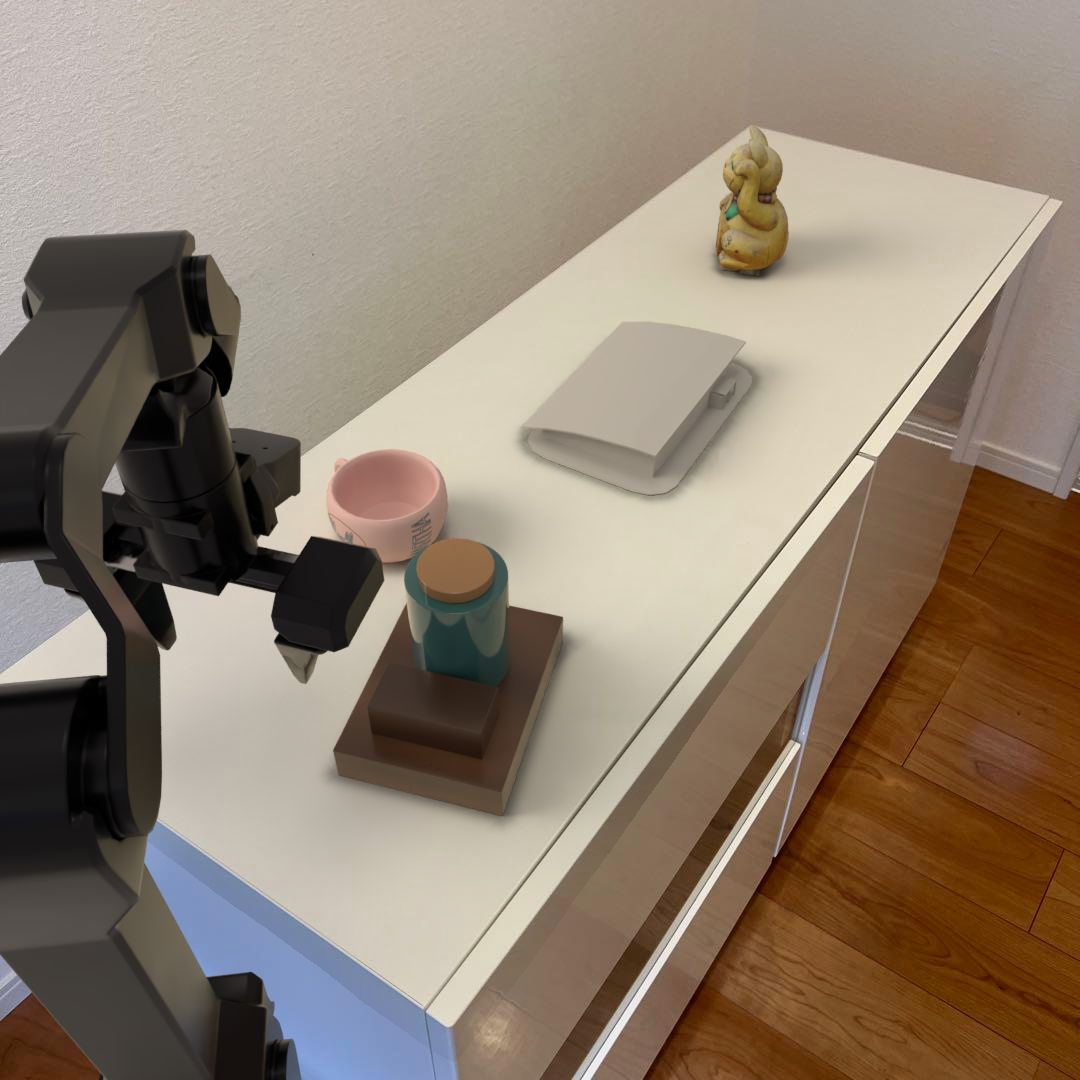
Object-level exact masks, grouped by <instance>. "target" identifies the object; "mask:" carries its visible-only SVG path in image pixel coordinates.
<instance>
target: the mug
mask: <svg viewBox="0 0 1080 1080" xmlns="http://www.w3.org/2000/svg"><path fill="white" fill-rule="evenodd" d="M333 469H334V470H333V471H334V473H333V474H332V476H331V478H330V480H329V482H328V485H327V487H326V494H325V495H326V496H325V501H326V512H327V516H328V520H329V523H330V526H331V527H332V530H333V532H334V534H335V535H336V536H337V537H338V539H339V541H342V542H347V543H352V544H356V545H361V546H366V547H370V548H375V549H376V550H377V552H378V554H379V556H380V558H381V560H382V563H384V564H385V563H397V562H403V561H406V560H410V559H412V558H413V557H414V556H415V555H416V554H417V553H418V552H420V551H421V550H423V549H424V548H426V547H428V546H430V545H432V544H434V543H435V540H436V539H437V538H438V536H439V534H440V532H441V530H442V528H443V526H444V524H445V522H446V520H447V519H446V518H447V512H448V507H449V498H448V492H447V485H446V481H445V479H444V476H443V474H442V472H441V470H440V469H439V468H438V467H437V466H436V465H435V464H434V463H433V461H431V460H430V459H428V458H427V457H425V456H423V455H421V454H418V453H416V452H413V451H408V450H404V449H397V448H396V449H395V448H387V449H385V448H384V449H383V448H382V449H376V450H370V451H368V452H364V453H361V454H359V455H356V456H355V457H352V458H350V459H349V460H348V459H346V458H343V457H341V458H337V459H336V461H334V465H333Z"/></svg>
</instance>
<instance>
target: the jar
mask: <svg viewBox="0 0 1080 1080" xmlns="http://www.w3.org/2000/svg"><path fill="white" fill-rule="evenodd" d="M403 584H404V592H405V600H406V603H407V609H408V617H409V625H410V634H411V642H412V650H413V658H414V666H415V668H417V669H421V670H425V671H430V672H434V673H439V674H443V675H448V676H452V677H456V678H461V679H465V680H470V681H474V682H479V683H483V684H487V685H492V686H497V685H499V684H500V683H501V681H502V680H503V679H504V678H505V676H506V674H507V672H508V670H509V666H510V626H509V606H510V593H509V592H510V588H509V585H510V584H509V570H508V565H507V563H506V561H505V560H504V558H503V557H502V556H501V555H500V554H499V552H497V551H496V550H495V549H493V548H492V547H490V546H489V545H486V544H484V543H482V542H479V541H476V540H474V539H473V540H472V539H468V538H464V537H461V538H460V537H453V538H452V537H451V538H445V539H442V540H438V541H436V542H433V543H432V544H431V545H430V546H428V547H426V548H424V549H423V550H421V551H420V552H418V553H417V554H416V555H415V556H414V557H412V558H410V561H409V562H408V563H407V565H406V568H405V571H404V574H403Z"/></svg>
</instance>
